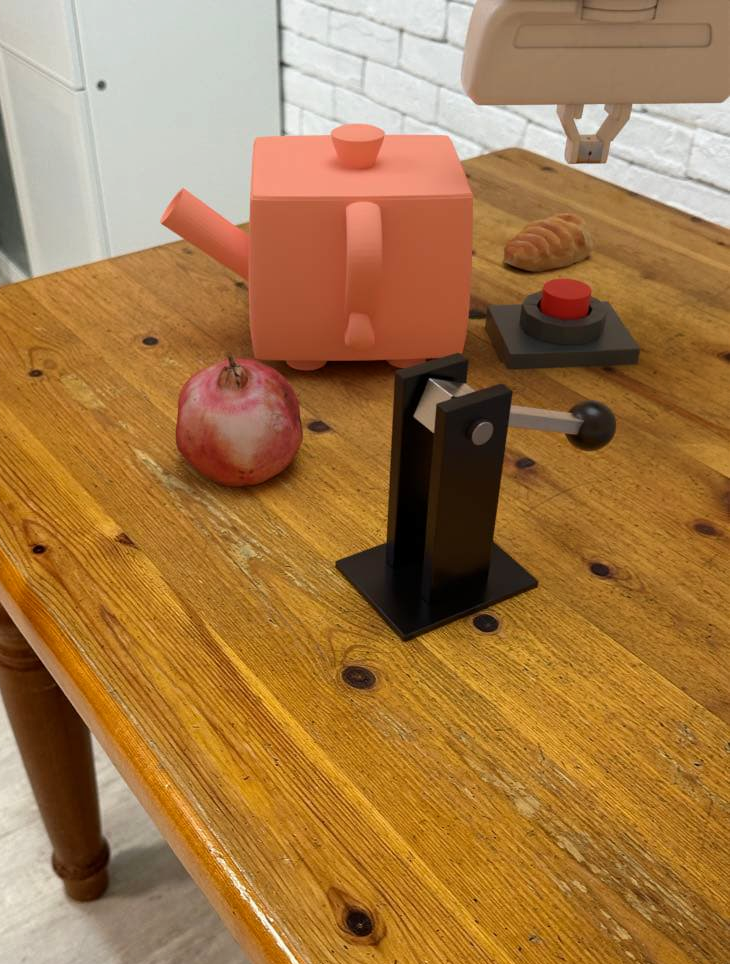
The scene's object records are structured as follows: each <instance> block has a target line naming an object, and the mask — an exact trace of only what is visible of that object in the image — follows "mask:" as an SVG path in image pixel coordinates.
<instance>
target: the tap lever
mask: <svg viewBox="0 0 730 964" xmlns="http://www.w3.org/2000/svg"><path fill="white" fill-rule="evenodd" d="M475 391H476V390H475V389H473V388H472V387H471V386H469V385H468V384H467V383H466V384H465V383H459V382H452V381H445V380H438V379H431V378H429V380H428V382H427V385H426V387H425V390H424V392H423V394H422V397H421V399H420V402H419V404H418V406H417V409H416V411H415V414H414V418H416V419H417V420H418V421H419V422H420V423H422V424H423V425H424V426H425V427H427V428H428V429H429V430H430V431H431V432H433V433H434V427H435V414H436V404H437V403H440V402H443V401H446V400H449V399H453V398H456V397H459V396H462V395H465V394H469V393H472V392H475ZM508 428H515V429H523V430H532V431H539V432H540V431H541V432H548V433H549V432H550V433H559V434H564V435H565V437H566V440H567V441H568V442H569V444H571V446H573V447H574V448H575V449H577V450H579V451H583V452H595V451H596V452H597V451H599V450H602V449H603V448H606V447H607V446H608V445H609V444H610V443H611V442H612V441H613V439H614V437H615V434H616V433H617V419H616V416H615V413H614V411H613V410H612V409H611V408H610V407H609V406H608V405H607V404H606V403H604V402H602V401H599V400H596V399H587V400H583V401H580V402H577V403H576V404H574V405H573V406H572V407H571V408H570V409H569V410H568V411H567V412H566V411H559V410H551V409H545V408H544V409H543V408H537V407H536V408H535V407H529V406H520V405H514V404H511V409H510V416H509V424H508Z"/></svg>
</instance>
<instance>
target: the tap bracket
mask: <svg viewBox="0 0 730 964" xmlns="http://www.w3.org/2000/svg"><path fill="white" fill-rule="evenodd" d="M469 361H470V360H469V358H468V357H466V356H465V355H463V353H462V354H460V353H455V354H452V355H448V356H445V357H441V358H434V359H432V360H428V361H426V362H424V363H421V364H417V365H414V366H411V367H407V368H400V369H397V370H395V371H394V384H393V402H392V403H393V404H392V421H391V422H392V423H391V443H390V463H389V481H388V502H387V503H388V504H387V522H386V541H385V542H383V543H381V544H378V545H376V546H373V547H370V548H367V549H364V550H362V551H359V552H357V553H353V554H351V555H347V556H345V557H343V558H340V559H338V560H335V562H334V567H335V568H336V569H337V571H338V572H339V573H340V574H341V575H342V577H344V579H346V581H347V582H348V583H349V584H350V585H351V586H352V588H353V589H355V590H356V592H357V593H358V594H359V595H360V596H361V597H362V598H363V600H365V601H366V603H367V604H368V605H369V606H370V608H372V610H374V611H375V613H377V615H378V616H379V617H380V618H381V619H382V620H383V621H384V622H385V623H386V624H387V626H388V627H389V628H390V629H391V630H392V631H393V632H394V633H395V634H396V635H397V636H398V638H399V639H400V640H401V641H402V642H403V643H407V642H409V641H411V640H414V639H416V638H418V637H421V636H423V635H425V634H428V633H431V632H433V631H435V630H438V629H440V628H442V627H445V626H447V625H449V624H452V623H454V622H457V621H459V620H461V619H464V618H466V617H469V616H471V615H473V614H477V613H479V612H482V611H483V610H486V609H488V608H491V607H493V606H496V605H498V604H501V603H504V602H505V601H507V600H510V599H513V598H515V597H517V596H520V595H522V594H524V593H527V592H529V591H531V590H534V589H536V588H538V587H539V580H538V579H537V577H534V576H533V575H532V574H531V573H530V572H529V570H527V569H525V568H524V566H522V565H521V564H520V563H519V562H518V561H516V559H515V558H513V556H511V555H510V554H509V553H508V552H507V551H505V550H504V549H503V548H502V547H501V546H500V545H498V544H497V543H496V542H495V541H494V537H495V536H494V535H495V529H496V521H497V516H498V515H497V513H498V507H499V499H500V492H501V491H500V490H501V484H502V478H503V477H502V476H503V470H504V463H505V461H504V460H505V453H506V447H507V446H506V445H507V437H508V430H509V427H508V424H509V416H510V409H511V405H512V401H513V394H514V393H513V392H514V391H513V389H511V388H510V387H508V386H507V385H505V384H504V383H503V382H502V383H501V382H500V383H498V384H494V385H492V386H488V387H485V388H481V389H478V390H475V392H472V393H469V394H465V395H462V396H459V397H456V398H453V399H449V400H446V401H443V402H440V403H437V404H436V414H435V427H434V433H433V432H431V431H430V430H429V429H428V428H427V427H425V426H424V425H423V424H422V423H420V422H419V421H418V420H417V419H416V418H414V414H415V411H416V409H417V406H418V404H419V402H420V399H421V397H422V394H423V392H424V390H425V387H426V385H427V382H428V380H429V378H431V379H438V380H445V381H452V382H459V383H465V384H467V381H468V369H469Z"/></svg>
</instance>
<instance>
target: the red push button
mask: <svg viewBox="0 0 730 964" xmlns="http://www.w3.org/2000/svg"><path fill="white" fill-rule="evenodd" d="M542 290H543V291H542ZM542 290H541V291H542V298H541V306H540V310H541V312H542V313H544V314H546V315H548V316H550V317H554V318H559V319H564V320H566V319H581V318H583V317H586V316H587V314H588V310H589V304H590V298H591V296H592V293H593V292H592V288H591V286H590V285H589V284H587V283H585V282H583V281H581V280H577V279H572V278H555V279H554V278H553V279H550V280H548V281H546V282H544V284H543V285H542Z"/></svg>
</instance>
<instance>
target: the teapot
mask: <svg viewBox="0 0 730 964" xmlns="http://www.w3.org/2000/svg"><path fill="white" fill-rule="evenodd" d="M251 157H252V158H251V170H250V171H251V172H250V190H249V218H248V219H249V221H248V226H249V227H248V234H247V233H246V232H244V231H243V230H242V229H241V228H239V227H237V226H236V225H235V224H234V223H232V222H231V221H230V220H228V219H226V218H225V217H224V216H222V214H220V213H219V212H217V211H216V210H215V209H213V208H211V207H210V206H209V205H208V204H207V203H205V202H203V201H202V200H201V199H199V198H198V197H197V196H195V195H194V194H192V193H191V192H190V191H189V190H187V189H186V188H184V187H182V188H181V189H179V191H178V192H177V193H176V194H175V195H174V197H172V199H171V200H170V202H169V203H168V205H167V206H166V209H165V210H164V212H163V213H162V216H161V217H160V221H159V223H160V225H162V226H164V227H165V228H167V230H170V231H171V232H172V233H174V234H176V235H177V236H179V237H180V238H181V239H183V240H185V241H186V242H188V243H189V244H191V245H192V246H194V247H195V248H197V249H198V250H200V251H201V252H203V253H204V254H206V255H207V256H209V257H210V258H212V259H213V260H215V261H216V262H218V263H220V264H221V265H222V266H224V267H225V268H227V269H229V271H231V272H233V273H234V274H236V275H237V276H238V277H240V278H242V279H243V280H244V281H246V282H248V312H249V328H250V329H249V330H250V338H251V343H252V350H253V356H254V359H255V360H260V361H261V360H262V361H285V362H286V364H287V365H288V367H290V368H292V369H295V370H299V371H314V370H318V369H321V368H322V367H324V366H325V365H326V364H327V363H328V361H329V362H330V361H339V362H340V361H343V362H345V361H384V360H385V362H387V363H388V364H389V365H390V366H393V367H395V368H400V369H404V368H407V367H411V366H414V365H417V364H421V363H424V362H427V359H438V358H441V357H445V356H448V355H452V354H455V353H460V354H462V355H463V354H464V353H463V352H464V348H465V343H466V338H467V333H468V328H469V327H468V326H469V316H470V306H471V305H470V303H471V290H472V274H473V273H472V271H473V246H474V245H473V239H474V238H473V237H474V236H473V235H474V194H473V191H472V188H471V185H470V183H469V180H468V177H467V175H466V171H465V170H464V167H463V164H462V162H461V159H460V157H459V154H458V152H457V150H456V148H455V145H454V143H453V141H452V139H451V138H450V136H449V135H444V134H386V132H385V131H384V130H383V129H382V128H380V127H378V126H376V125H372V124H368V123H347V124H343V125H342V124H341V125H340V126H337V127H335V128H333V129H331V131H330V134H323V135H322V134H319V135H318V134H317V135H316V134H314V135H313V134H312V135H311V134H310V135H309V134H308V135H277V136H276V135H273V136H271V135H270V136H256V137H255V139H254V140H253V145H252V155H251Z"/></svg>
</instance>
